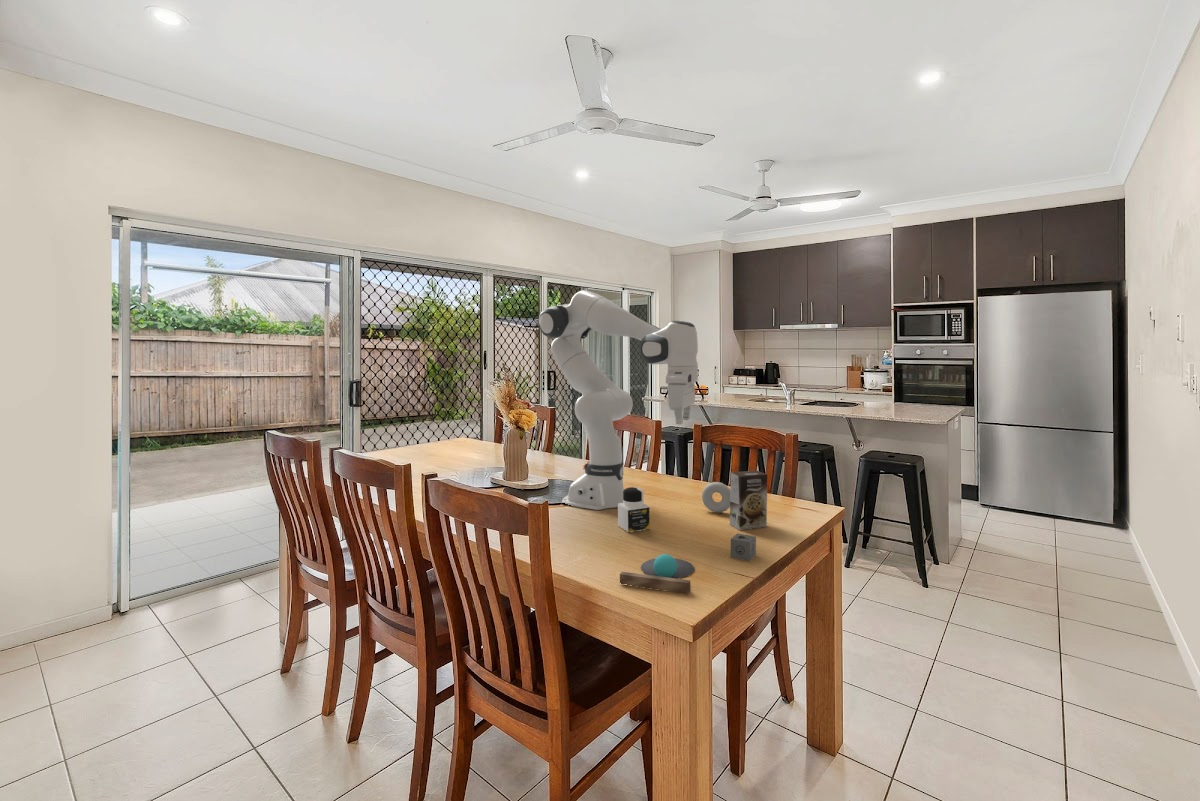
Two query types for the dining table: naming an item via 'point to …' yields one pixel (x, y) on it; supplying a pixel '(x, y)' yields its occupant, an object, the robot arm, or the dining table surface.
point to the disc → (682, 570)
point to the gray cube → (743, 547)
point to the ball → (665, 566)
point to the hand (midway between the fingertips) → (682, 421)
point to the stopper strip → (655, 582)
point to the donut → (708, 499)
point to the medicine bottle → (633, 511)
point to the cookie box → (748, 500)
